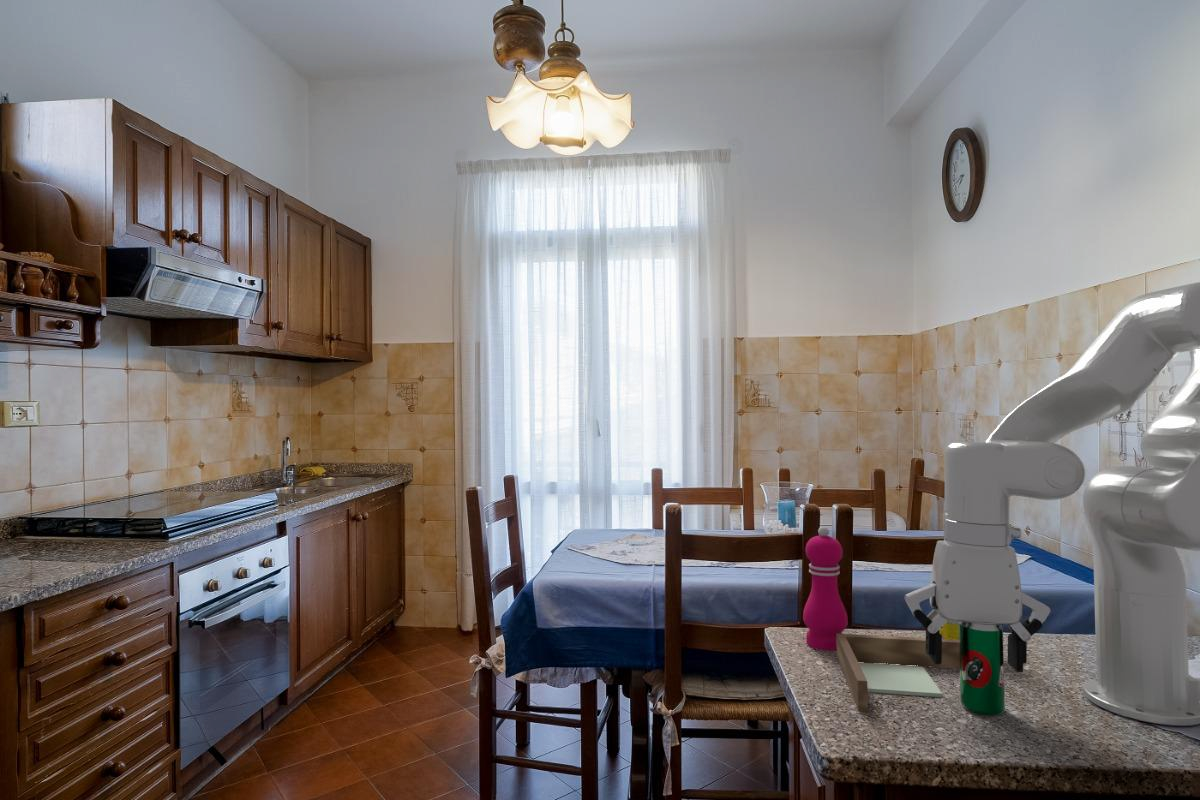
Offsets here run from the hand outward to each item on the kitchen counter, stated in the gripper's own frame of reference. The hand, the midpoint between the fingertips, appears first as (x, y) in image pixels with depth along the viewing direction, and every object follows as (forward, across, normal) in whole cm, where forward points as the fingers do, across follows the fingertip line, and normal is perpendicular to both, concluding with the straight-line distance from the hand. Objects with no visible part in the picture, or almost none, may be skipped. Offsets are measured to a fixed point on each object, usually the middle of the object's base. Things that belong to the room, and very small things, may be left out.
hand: (974, 664), depth 87 cm
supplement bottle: (+6, -5, -22) cm, 24 cm away
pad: (+6, +8, -8) cm, 13 cm away
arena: (+6, +5, -6) cm, 10 cm away
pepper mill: (+6, +16, -22) cm, 28 cm away
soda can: (+6, -1, 0) cm, 6 cm away
